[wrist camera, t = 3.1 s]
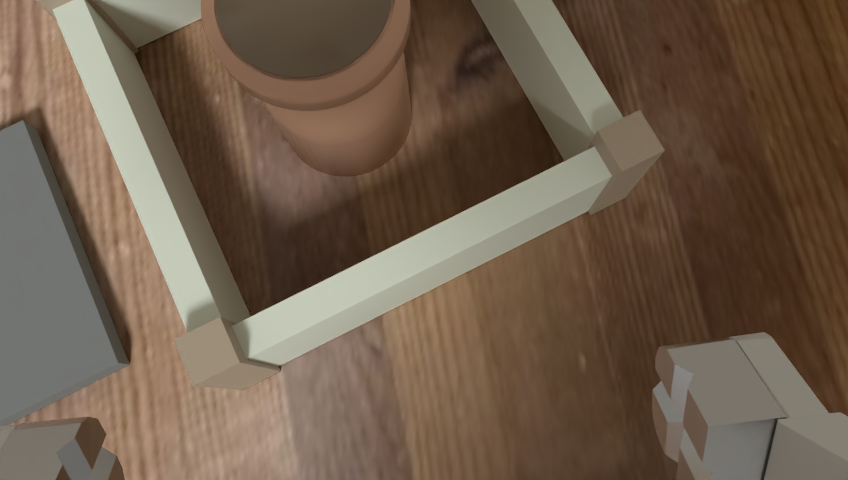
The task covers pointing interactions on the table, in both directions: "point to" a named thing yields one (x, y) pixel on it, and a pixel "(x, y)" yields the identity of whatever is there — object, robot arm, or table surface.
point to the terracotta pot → (322, 73)
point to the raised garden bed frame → (386, 271)
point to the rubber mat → (45, 288)
